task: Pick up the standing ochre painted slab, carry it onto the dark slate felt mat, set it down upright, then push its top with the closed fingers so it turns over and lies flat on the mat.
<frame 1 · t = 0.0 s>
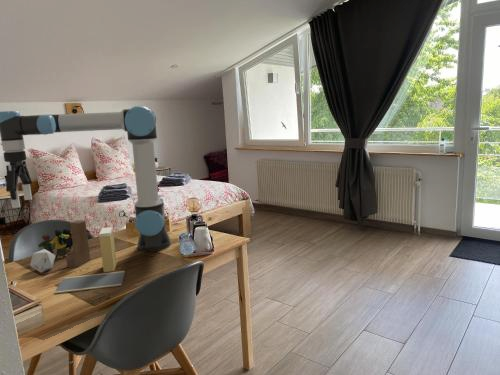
hand: (22, 203, 159), 28 cm above the table, fingers open, 13 cm apart
die: (44, 270, 163), on the table
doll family: (67, 253, 181), on the table
ochre slab: (110, 267, 162), on the table
felt mat: (91, 282, 149), on the table
wooden block: (79, 263, 168), on the table
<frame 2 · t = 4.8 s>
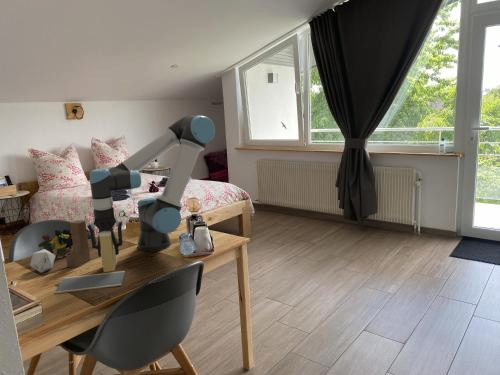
hand: (109, 262, 162), 2 cm above the table, fingers closed on ochre slab, 4 cm apart
ochre slab: (110, 267, 162), on the table, touching gripper
everything else where it was.
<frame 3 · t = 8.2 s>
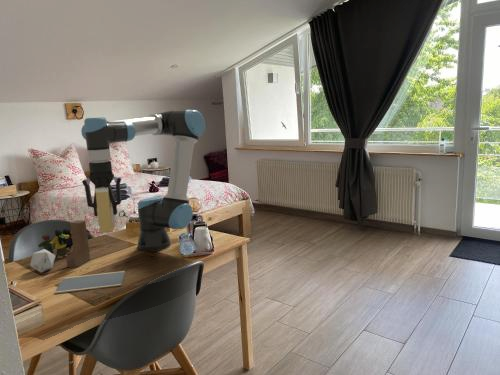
hand: (107, 223, 146), 22 cm above the table, fingers closed on ochre slab, 4 cm apart
ochre slab: (107, 229, 146), point 20 cm above the table, touching gripper
everything else where it was.
when the fingers open (3 cm above the table, at t = 11.7 s): ochre slab stays where it is, resting on felt mat.
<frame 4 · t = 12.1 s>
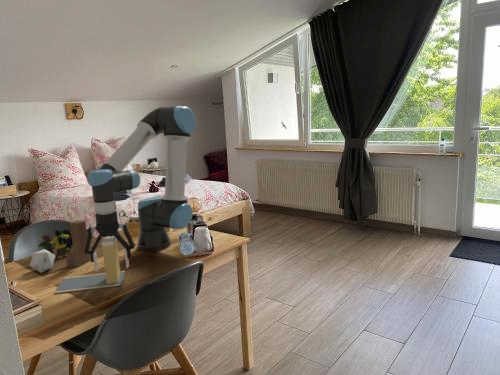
hand: (112, 268, 149), 5 cm above the table, fingers open, 10 cm apart
ochre slab: (113, 278, 150), resting on felt mat
everything else where it was.
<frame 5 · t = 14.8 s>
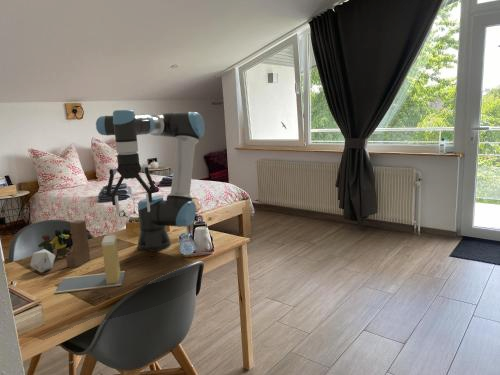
hand: (133, 212, 147), 26 cm above the table, fingers open, 10 cm apart
nothing on the table moved.
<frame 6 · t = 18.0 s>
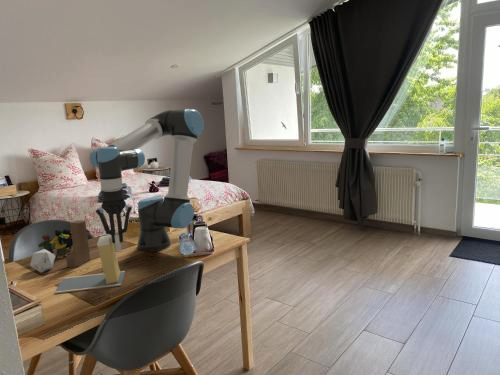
hand: (118, 250, 149), 12 cm above the table, fingers closed
ochre slab: (113, 278, 150), point 1 cm above the table, tilted 6°, touching felt mat
everything else where it was.
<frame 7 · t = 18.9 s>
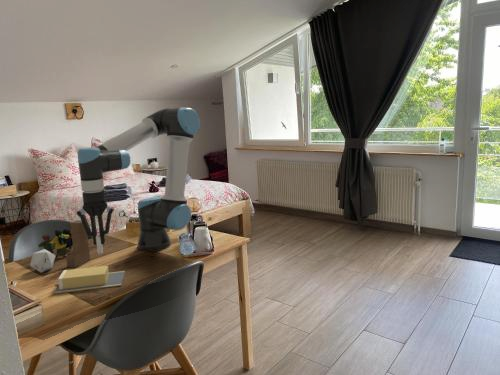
hand: (100, 252, 147), 12 cm above the table, fingers closed
ochre slab: (107, 274, 150), point 2 cm above the table, tilted 90°, touching felt mat
everything else where it was.
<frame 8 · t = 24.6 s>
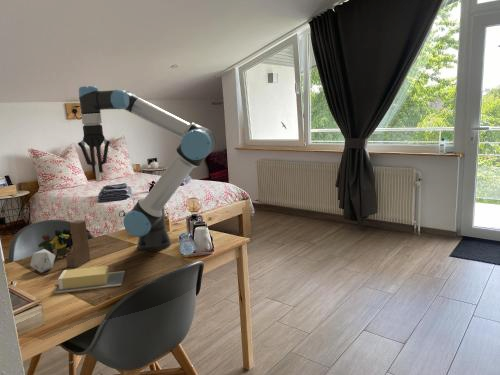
hand: (98, 180, 168), 34 cm above the table, fingers closed
nothing on the table moved.
at the end: ochre slab tilted 90°; ochre slab inside the target area (8.3 cm from its centre), point 2.4 cm above the table; the gripper is holding nothing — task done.
